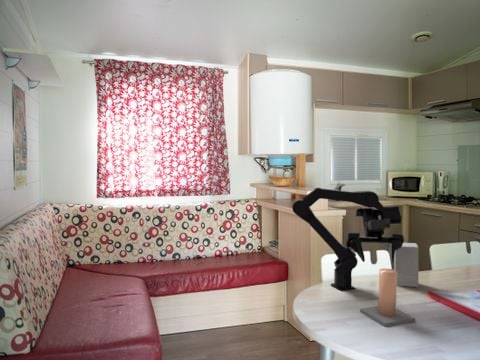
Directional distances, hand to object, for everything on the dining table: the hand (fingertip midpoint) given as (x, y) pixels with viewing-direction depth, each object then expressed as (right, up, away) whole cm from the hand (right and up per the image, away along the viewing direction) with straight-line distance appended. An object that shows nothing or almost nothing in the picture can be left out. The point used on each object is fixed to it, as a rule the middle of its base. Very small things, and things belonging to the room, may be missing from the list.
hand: (378, 261), depth 123 cm
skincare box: (+17, -13, +19) cm, 29 cm away
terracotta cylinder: (-2, -13, -11) cm, 17 cm away
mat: (-2, -14, -11) cm, 18 cm away
